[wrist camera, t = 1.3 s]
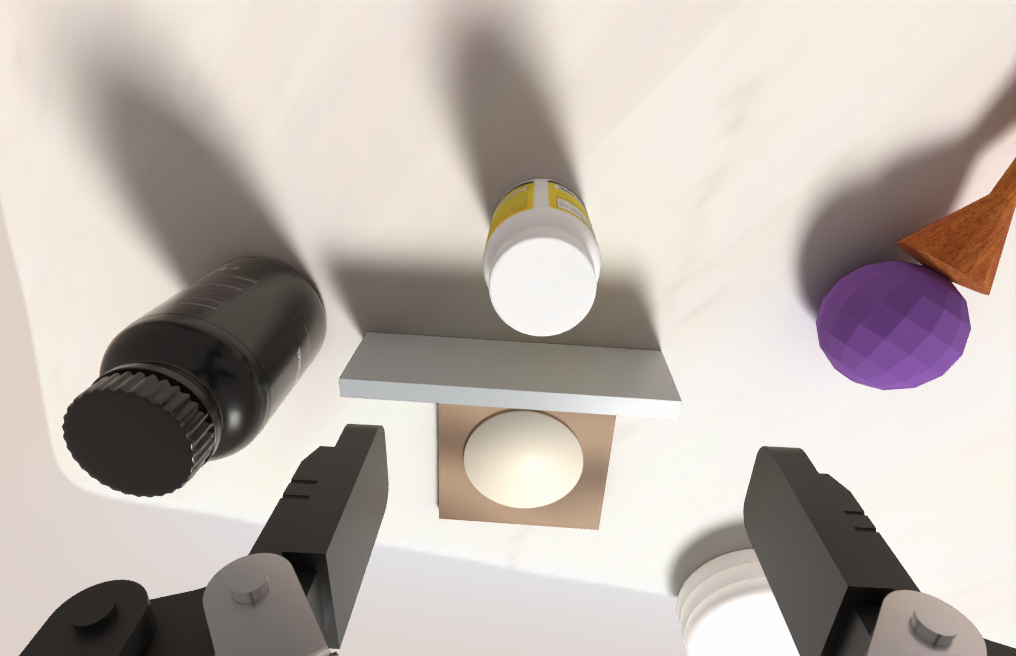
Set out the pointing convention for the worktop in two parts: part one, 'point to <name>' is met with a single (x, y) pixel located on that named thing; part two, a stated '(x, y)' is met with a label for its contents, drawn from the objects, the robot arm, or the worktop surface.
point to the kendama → (917, 297)
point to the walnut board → (523, 465)
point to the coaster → (732, 610)
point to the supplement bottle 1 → (196, 377)
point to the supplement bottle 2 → (541, 258)
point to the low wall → (511, 375)
